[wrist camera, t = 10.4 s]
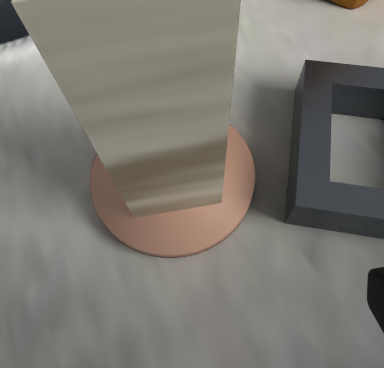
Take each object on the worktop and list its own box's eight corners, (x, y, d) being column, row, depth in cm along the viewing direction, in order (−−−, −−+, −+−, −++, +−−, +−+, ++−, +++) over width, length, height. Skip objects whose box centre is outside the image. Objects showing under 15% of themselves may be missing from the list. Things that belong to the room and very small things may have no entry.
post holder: (468, 252, 18) (506, 238, 15) (284, 223, 19) (295, 205, 16) (447, 106, 21) (475, 77, 19) (295, 89, 22) (305, 59, 20)
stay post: (221, 203, 18) (243, -32, 7) (134, 218, 18) (11, 2, 7) (205, 130, 20) (202, -147, 9) (126, 143, 20) (21, -122, 9)
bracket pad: (271, 242, 18) (273, 238, 17) (97, 270, 18) (92, 267, 17) (235, 103, 22) (236, 95, 21) (91, 125, 22) (88, 117, 21)
